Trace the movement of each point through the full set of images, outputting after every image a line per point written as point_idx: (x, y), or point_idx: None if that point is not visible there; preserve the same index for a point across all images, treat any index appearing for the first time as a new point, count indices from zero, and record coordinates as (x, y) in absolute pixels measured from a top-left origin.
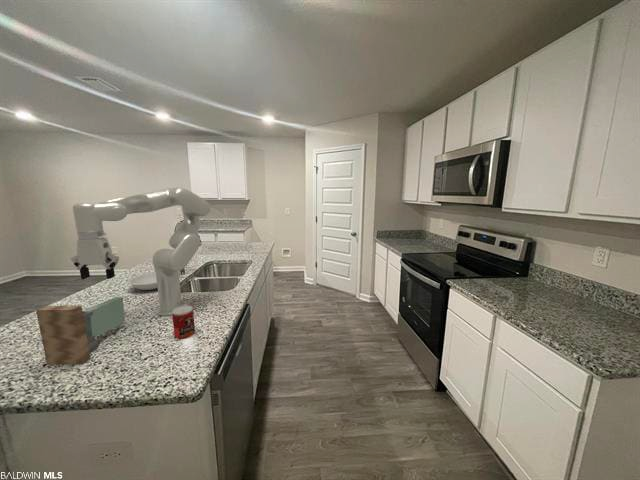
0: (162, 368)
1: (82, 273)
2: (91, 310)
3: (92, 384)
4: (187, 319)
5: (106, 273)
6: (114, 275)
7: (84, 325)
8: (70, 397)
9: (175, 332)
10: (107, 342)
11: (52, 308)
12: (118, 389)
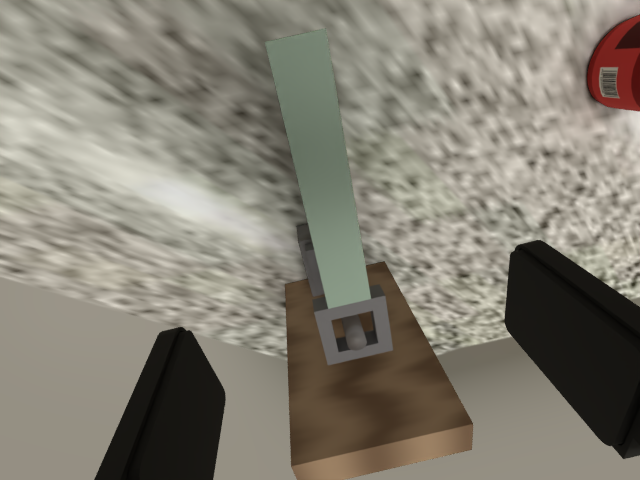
0: (607, 245)
1: (212, 474)
2: (368, 289)
3: (474, 317)
4: None
5: (568, 391)
6: (547, 248)
7: (428, 343)
8: (460, 346)
9: (621, 107)
10: (353, 185)
11: (358, 466)
12: None
